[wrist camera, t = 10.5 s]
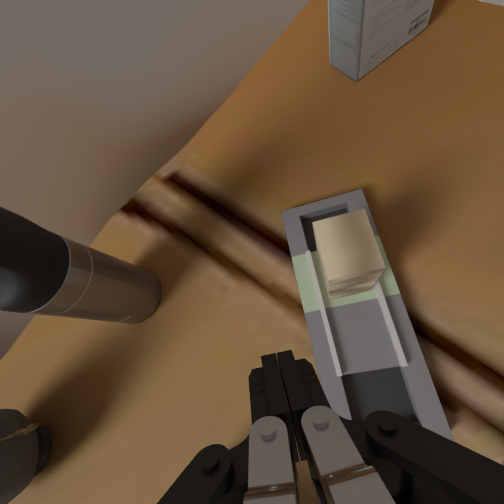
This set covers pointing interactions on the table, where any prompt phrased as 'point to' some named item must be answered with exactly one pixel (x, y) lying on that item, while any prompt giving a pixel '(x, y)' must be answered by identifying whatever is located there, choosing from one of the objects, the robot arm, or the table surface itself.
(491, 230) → the table surface
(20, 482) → the dark bottle
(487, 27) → the table surface
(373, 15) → the hard drive box
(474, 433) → the table surface
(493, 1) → the tablet stand
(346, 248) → the maple block
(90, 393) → the table surface
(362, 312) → the track
